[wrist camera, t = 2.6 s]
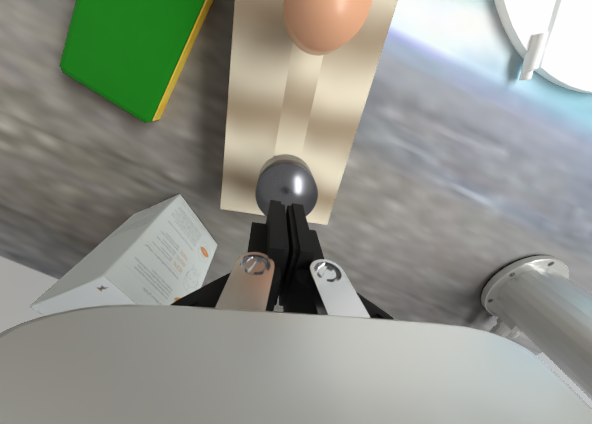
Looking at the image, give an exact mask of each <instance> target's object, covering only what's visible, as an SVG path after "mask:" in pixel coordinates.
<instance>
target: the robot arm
mask: <svg viewBox="0 0 592 424" xmlns="http://www.w3.org/2000/svg"><path fill="white" fill-rule="evenodd" d="M568 279H569V270H568V267H567V266H566V264H564V263H563V262H562V261H560V260H558V259H556V258H554V257H551V256H533V257H528V258H524V259H521V260H519V261H516V262H514V263H512V264H510V265H508V266H506V267H505V268H503V269H502V270H501V271H499V272H498V273H497V274H496V275H494V276H493V277H492V278H491V279H490V281H489V282H488V283H487V284H486V286H485V287H484V289H483V292H482V295H481V303H482V305H483V307H484V308H485V309H486V310H487V311H488V312H489V313H490V314H492V315H494V316H497V317H499V318H498V319H497V324H496V326H494V327H493V328H492V329H491V330H490V331H489V332H487V331H483V330H480V329H476V328H471V327H466V326H460V325H451V324H442V323H432V322H419V321H406V320H394V319H393V318H392V317H391V316H390V315H388V314H387V313H386V312H384V311H383V310H381V309H380V308H378V307H377V306H375V305H374V304H373V303H371V302H370V301H368V300H367V299H365V298H364V297H362V296H361V295H360V294H358V293H357V292H356V291H355V290H354V288H353V286H352V284H351V283H350V281H349V279H348V277H347V276H346V274H345V272H344V271H343V269H342V268H341V267H340V266H339V265H337V264H336V263H334V262H332V261H329V260H324V257H323V253H322V250H321V247H320V243H319V240H318V237H317V233H316V231H315V230H309V227H308V223H307V219H306V215H305V212H304V208H303V205H302V204H295V203H292V204H291V206H290V205H288V206H287V209H286V212H285V205H283V204H281V201H275V200H270V204H269V210H268V215H267V221H266V224H262V223H254V222H252V227H251V233H250V240H249V246H248V253H245V254H242V255H241V256H239V258H238V259H237V260H236V262H235V265H234V267H233V269H232V271H231V273H229V274H227V275H225V276H223V277H221V278H219V279H217V280H215V281H213V282H211V283H209V284H207V285H205V286H203V287H201V288H200V289H198V290H196V291H194V292H192V293H190V294H188V295H186V296H184V297H182V298H180V299H178V300H177V301H175V302H174V303H172V304H171V305H140V304H121V305H103V306H94V307H85V308H78V309H74V310H69V311H64V312H59V313H54V314H50V315H47V316H43V317H39V318H36V319H33V320H30V321H27V322H24V323H21V324H19V325H17V326H14V327H12V328H10V329H7V330H5V331H3V332H2V333H0V424H592V408H591V407H590V406H589V405H588V404H587V403H586V402H585V401H584V400H583V399H582V398H581V397H580V396H579V395H578V394H577V393H576V392H575V391H574V390H573V389H572V388H571V387H569V386H568V385H567V384H566V383H565V382H564V381H563V380H562V379H561V378H560V377H559V376H558V375H557V374H556V373H555V372H554V371H553V370H552V369H550V368H549V367H548V366H547V365H546V364H545V363H544V362H543V361H542V360H540V359H539V358H538V357H537V356H536V355H535V354H533V353H532V352H531V351H529V350H528V349H526V348H524V347H522V346H521V345H519V344H517V343H515V342H513V341H511V340H508V339H506V337H507V335H509V336H510V337H512V338H516V337H517V336H518V335H519V334H520V332H523V333H524V334H525V335H526V336H527V337H528V338H529V339H530V340H531V341H532V342H533V343H534V344H535V345H536V346H537V347H538V348H539V349H540V350H541V351H542V352H543V353H545V354H546V355H547V356H548V357H549V358H550V359H551V360H552V361H553V362H554V363H555V364H556V365H557V366H558V367H559V368H560V369H561V370H562V371H563V372H564V373H565V374H566V375H567V376H568V377H569V378H570V379H571V380H572V381H573V382H574V383H575V384H576V385H577V386H578V387H579V388H580V389H581V390H582V391H583V392H584V393H585V394H586V395H587V396H588V397H589V398H590V399H591V400H592V295H591V294H590V293H588V292H587V291H585V290H584V289H582V288H581V287H579V286H577V285H576V284H574V283H573V282H571V281H570V280H568ZM278 295H279V305H280V306H283V310H284V312H275V311H273V309H274V305H276V303H277V299H278Z"/></svg>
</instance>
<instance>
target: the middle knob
mask: <svg viewBox="0 0 592 424" xmlns="http://www.w3.org/2000/svg"><path fill="white" fill-rule="evenodd" d="M371 3H372V0H284V3H283V16H284V22H285V26H286V29H287V32H288V34H289V36H290V38H291V40H292V41H293V42H294V44H295V45H296V46H297V47H298V48H299V49H301V50H302V51H304V52H305V53H308V54H310V55H315V56H320V55H326V54H329V53H331V52H333V51H335V50H336V49H338V48H339V47H340V46H342V45H343V44H345V43H346V42H348V41H349V40H350V39H351V38H353V37H354V36H355V35H356V33H357V32H358V31H359V30H360V28H361V27H362V26H363V24H364V22H365V20H366V18H367V16H368V14H369V11H370V8H371Z"/></svg>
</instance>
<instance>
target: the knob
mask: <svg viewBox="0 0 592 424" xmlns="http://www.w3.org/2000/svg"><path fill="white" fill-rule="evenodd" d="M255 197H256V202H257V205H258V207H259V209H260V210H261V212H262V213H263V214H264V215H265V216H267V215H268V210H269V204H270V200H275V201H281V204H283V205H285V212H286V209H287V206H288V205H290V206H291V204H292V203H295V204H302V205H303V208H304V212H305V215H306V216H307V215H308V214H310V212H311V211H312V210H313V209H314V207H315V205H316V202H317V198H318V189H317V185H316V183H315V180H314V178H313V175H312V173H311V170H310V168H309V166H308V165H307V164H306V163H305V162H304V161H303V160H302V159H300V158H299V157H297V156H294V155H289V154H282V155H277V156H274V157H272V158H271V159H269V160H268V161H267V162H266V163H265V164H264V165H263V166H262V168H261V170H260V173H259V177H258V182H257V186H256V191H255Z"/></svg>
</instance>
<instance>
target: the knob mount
mask: <svg viewBox="0 0 592 424" xmlns="http://www.w3.org/2000/svg"><path fill="white" fill-rule="evenodd" d="M397 1H398V0H372V3H371V8H370V11H369V14H368V16H367V18H366V20H365V22H364V24H363V26H362V27H361V28H360V30H359V31H358V32H357V33H356V35H355V36H354V37H353V38H351V39H350V40H349V41H348V42H346V43H345V44H343V45H342V46H340V47H339V48H338V49H336V50H335V51H333V52H331V53H329V54H326V55H320V56H315V55H310V54H308V53H305V52H304V51H302V50H301V49H299V48H298V47H297V46H296V45H295V44H294V42H293V41H292V40H291V38H290V36H289V34H288V32H287V29H286V26H285V22H284V16H283V3H284V0H235V5H234V19H233V34H232V49H231V63H230V78H229V92H228V107H227V121H226V136H225V150H224V165H223V179H222V194H221V208H220V209H225V210H232V211H238V212H245V213H252V214H258V215H264V214H263V213H262V212H261V210H260V209H259V207H258V205H257V202H256V197H255V191H256V186H257V182H258V177H259V173H260V170H261V168H262V166H263V165H264V164H265V163H266V162H267V161H268V160H269V159H271V158H272V157H274V155H275V156H277V155H282V154H289V155H294V156H297V157H299V158H300V159H302V160H303V161H304V162H305V163H306V164H307V165H308V166H309V168H310V170H311V173H312V175H313V178H314V180H315V183H316V185H317V189H318V198H317V202H316V205H315V207H314V209H313V210H312V211H311V212H310V214H308V215H307V216H306V219H307V222H312V223H319V224H325V225H327V223H328V220H329V217H330V214H331V211H332V207H333V204H334V201H335V198H336V195H337V192H338V188H339V185H340V182H341V179H342V176H343V172H344V169H345V166H346V163H347V160H348V157H349V153H350V150H351V147H352V144H353V141H354V138H355V134H356V131H357V128H358V125H359V122H360V119H361V115H362V112H363V109H364V106H365V103H366V99H367V96H368V93H369V90H370V87H371V84H372V80H373V77H374V74H375V71H376V68H377V65H378V61H379V58H380V55H381V52H382V49H383V46H384V42H385V39H386V36H387V33H388V30H389V26H390V23H391V20H392V17H393V14H394V11H395V7H396V4H397Z"/></svg>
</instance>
